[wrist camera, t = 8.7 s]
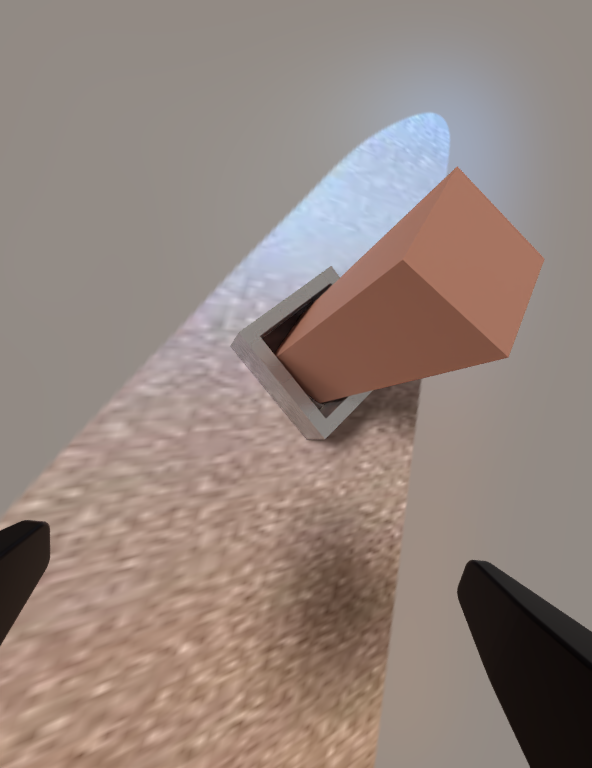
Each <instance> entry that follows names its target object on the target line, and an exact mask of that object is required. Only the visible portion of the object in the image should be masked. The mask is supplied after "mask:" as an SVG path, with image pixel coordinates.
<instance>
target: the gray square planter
mask: <svg viewBox="0 0 592 768" xmlns="http://www.w3.org/2000/svg"><path fill="white" fill-rule="evenodd" d="M339 278H340V277H339V276H338V274H337V273H336V272H335V270H334V269H333V268H332V266H331V267H329V268H328V269H326V270H325V271H324V272H322V273H321V274H319V275H318V276H317V277H315V278H314V279H312V280H311V281H310V282H308V283H307V284H306V285H304V286H303V287H301V288H300V289H299V290H297V291H296V292H294V293H293V294H292V295H290V296H289V297H288V298H286V299H285V300H283V301H282V302H281V303H279V304H278V305H276V306H275V307H274V308H272V309H271V310H269V311H268V312H267V313H265V314H264V315H263V316H261V317H260V318H258V319H257V320H256V321H254V322H253V323H251V324H250V325H249V326H247V327H246V328H244V329H243V330H242V331H240V332H239V333H238V335H237V336H236V338H235V339H234V341H233V343H232V344H231V347H232V349H233V350H234V351H235V352H236V354H237V355H238V356H239V357H240V358H241V360H242V361H243V362H244V363H245V365H246V366H247V367H248V368H249V370H250V371H251V372H252V373H253V374H254V376H255V377H256V378H257V379H258V381H259V382H260V383H261V384H262V385H263V387H264V388H265V389H266V390H267V392H268V393H269V394H270V395H271V396H272V398H273V399H274V400H275V401H276V403H277V404H278V405H279V406H280V408H281V409H282V410H283V411H284V412H285V414H286V415H287V416H288V417H289V419H290V420H291V421H292V422H293V423H294V425H295V426H296V427H297V428H298V430H299V431H300V432H301V433H302V434H303V436H304V437H305V438H306V439H326V438H327V437H328V436H329V435H330V434H331V433H332V432H333V431H334V430H335V429H336V428H337V427H338V426H339V425H340V424H341V423H342V422H343V421H344V419H345V418H346V417H347V416H348V415H349V414H350V413H351V412H352V411H353V410H354V409H355V408H356V407H357V406H358V405H359V404H360V403H361V402H362V401H363V400H364V399H365V398H366V397H367V396H368V395H369V394H370V393H371V392H372V391H373V390H372V391H368V392H364V393H360V394H356V395H351V396H347V397H343V398H339V399H335V400H331V401H328V402H327V403H326V404H325V405H324V406H323V407H322V408H321V409H320V410H318V408H317V407H316V406H315V405H314V403H313V402H312V401H311V400H310V398H309V397H308V396H307V395H306V393H305V392H304V391H303V390H302V388H301V387H300V386H299V385H298V383H297V382H296V381H295V380H294V378H293V377H292V376H291V375H290V373H289V372H288V371H287V370H286V368H285V367H284V366H283V365H282V363H281V362H280V361H279V360H278V358H277V357H276V356H275V355H274V353H273V352H272V351H271V350H270V348H269V347H268V346H267V345H266V343H265V342H264V341H263V340H262V338H264V337H265V336H266V335H268V334H269V333H270V332H272V331H273V330H274V329H276V328H277V327H278V326H279V325H281V324H282V323H283V322H285V321H286V320H287V319H289V318H290V317H291V316H293V315H294V314H295V313H297V312H298V311H299V310H301V309H302V308H303V307H305V306H306V305H307V304H309V303H310V302H311V301H312V300H313V301H314V302H315V301H316V300H317V299H318V298H319V297H320V296H321V295H322V294H324V293H325V292H326V291H327V290H328V289H329V288H330V287H331V286H332V285H333V284H334V283H335V282H336V281H337V280H338V279H339Z"/></svg>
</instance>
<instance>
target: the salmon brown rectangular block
mask: <svg viewBox="0 0 592 768" xmlns="http://www.w3.org/2000/svg"><path fill="white" fill-rule="evenodd" d="M543 262H544V258H543V257H542V256H541V255H540V254H539V253H538V252H537V250H536V249H535V248H534V247H533V246H532V245H531V244H530V243H529V242H528V241H527V240H526V239H525V238H524V237H523V236H522V235H521V233H519V231H518V230H517V229H516V228H515V227H514V226H513V225H512V224H511V223H510V222H509V221H508V220H507V219H506V218H505V217H504V216H503V214H502V213H501V212H500V211H499V210H498V209H497V208H496V207H495V206H494V205H493V204H492V203H491V202H490V201H489V200H488V199H487V198H486V196H485V195H484V194H483V193H482V192H481V191H480V190H479V189H478V188H477V187H476V186H475V185H474V184H473V183H472V182H471V181H470V179H469V178H467V176H466V175H465V174H464V173H463V172H462V171H461V170H460V169H459V168H458V167H456V168H455V169H454V170H453V171H452V172H451V173H450V174H449V175H448V176H447V177H446V178H445V179H444V180H442V181H441V182H440V183H439V184H438V185H437V186H436V187H435V188H434V189H433V190H432V191H431V192H430V193H429V194H428V195H427V196H426V197H425V198H424V199H422V200H421V201H420V202H419V203H418V204H417V205H416V206H415V207H414V208H413V209H412V210H411V211H410V212H409V213H408V214H407V215H406V216H405V217H404V218H402V219H401V220H400V221H399V222H398V223H397V224H396V225H395V226H394V227H393V228H392V229H391V230H390V231H389V232H388V233H387V234H386V235H385V236H384V237H382V238H381V239H380V240H379V241H378V242H377V243H376V244H375V245H374V246H373V247H372V248H371V249H370V250H369V251H368V252H367V253H366V254H365V255H364V256H362V257H361V258H360V259H359V260H358V261H357V262H356V263H355V264H354V265H353V266H352V267H351V268H350V269H349V270H348V271H347V272H346V273H345V274H344V275H342V276H341V277H340V278H339V279H338V280H337V281H336V282H335V283H334V284H333V285H332V286H331V287H330V288H329V289H328V290H327V291H326V292H325V293H324V294H322V295H321V296H320V297H319V298H318V299H317V300H316V301H315V302H314V303H313V304H312V305H311V306H310V307H309V308H308V309H307V310H306V311H305V312H304V313H302V314H301V316H300V317H299V318H298V320H297V321H296V323H295V324H294V326H293V327H292V329H291V330H290V332H289V333H288V334H287V336H286V337H285V339H284V340H283V342H282V343H281V345H280V346H279V348H278V349H277V351H276V352H275V353H274V355H275V356H276V357H277V358H278V360H279V361H280V362H281V363H282V365H283V366H284V367H285V368H286V370H287V371H288V372H289V373H290V375H291V376H292V377H293V378H294V380H295V381H296V382H297V383H298V385H299V386H300V387H301V388H302V390H303V391H304V392H305V393H306V394H308V395H309V396H310V397H312V398H313V399H314V400H316V401H317V402H318V403H323V402H327V401H331V400H335V399H339V398H343V397H347V396H351V395H356V394H360V393H364V392H368V391H372V390H376V389H380V388H384V387H389V386H393V385H397V384H401V383H405V382H409V381H413V380H417V379H422V378H426V377H430V376H434V375H438V374H442V373H446V372H450V371H455V370H459V369H463V368H467V367H471V366H475V365H479V364H484V363H487V362H491V361H495V360H500V359H504V358H508V357H509V354H510V352H511V349H512V346H513V344H514V341H515V338H516V335H517V333H518V330H519V327H520V324H521V322H522V319H523V316H524V313H525V311H526V308H527V305H528V303H529V300H530V297H531V294H532V291H533V289H534V286H535V283H536V281H537V278H538V275H539V272H540V270H541V267H542V264H543Z"/></svg>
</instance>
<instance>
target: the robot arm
mask: <svg viewBox="0 0 592 768" xmlns="http://www.w3.org/2000/svg"><path fill="white" fill-rule="evenodd" d="M49 560H50V527H49V524H48V523H46V522H44V521H33V520H24V521H21V522H18V523H16V524H14V525H12V526H10V527H7V528H5V529H3V530H1V531H0V645H1V644H2V642H3V640H4V639H5V637H6V635H7V634H8V632H9V630H10V629H11V627H12V625H13V624H14V622H15V620H16V619H17V617H18V615H19V614H20V612H21V610H22V609H23V607H24V605H25V604H26V602H27V600H28V599H29V597H30V595H31V594H32V592H33V590H34V589H35V587H36V585H37V584H38V582H39V580H40V578H41V577H42V575H43V573H44V572H45V570H46V568H47V566H48V563H49ZM457 594H458V599H459V602H460V605H461V608H462V610H463V613H464V616H465V618H466V621H467V623H468V626H469V629H470V631H471V634H472V636H473V639H474V642H475V644H476V647H477V649H478V652H479V655H480V657H481V660H482V662H483V665H484V667H485V670H486V673H487V675H488V677H489V680H490V682H491V684H492V687H493V689H494V691H495V693H496V695H497V698H498V700H499V702H500V704H501V706H502V708H503V710H504V713H505V715H506V717H507V719H508V721H509V723H510V725H511V727H512V730H513V732H514V734H515V736H516V738H517V740H518V742H519V745H520V747H521V749H522V751H523V753H524V755H525V757H526V759H527V762H528V763H529V765H530V768H592V632H591V631H589V630H588V629H587V628H585V627H584V626H582V625H581V624H579V623H578V622H576V621H575V620H574V619H572V618H571V617H569V616H568V615H566V614H564V613H563V612H562V611H560V610H559V609H557V608H556V607H554V606H553V605H551V604H550V603H548V602H547V601H545V600H544V599H543V598H541V597H539V596H538V595H537V594H535V593H534V592H532V591H531V590H529V589H528V588H526V587H525V586H523V585H522V584H520V583H519V582H517V581H516V580H514V579H513V578H512V577H510V576H509V575H507V574H505V573H504V572H503V571H501V570H500V569H498V568H497V567H495V566H494V565H492V564H491V563H489V562H486V561H478V560H470V561H469V562H468V563H467V564H466V566H465V569H464V572H463V574H462V577H461V580H460V583H459V585H458V591H457Z"/></svg>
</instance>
